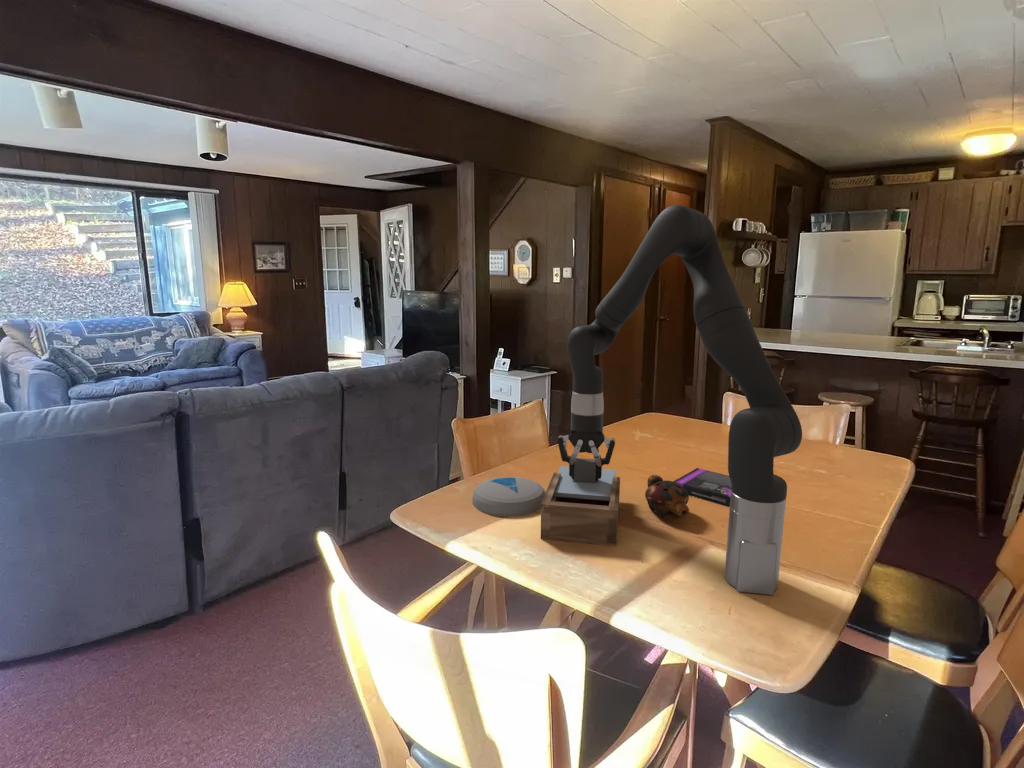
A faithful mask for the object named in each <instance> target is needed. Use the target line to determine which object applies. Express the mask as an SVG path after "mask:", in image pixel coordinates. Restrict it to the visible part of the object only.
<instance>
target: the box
mask: <svg viewBox="0 0 1024 768" xmlns="http://www.w3.org/2000/svg"><path fill="white" fill-rule="evenodd" d="M672 481H673V482H675V483H678V484H679V485H681V486H682V487H683V488H684V489H685V490H686V491H687V493H688V495H690V496H689V497H693V496H694V497H693V498H696V497H697V498H698V499H700V498H701V500H703V501H707V502H711V503H715V504H719V505H722V506H725V507H729V508H730V497H731V480H730V477H729V474H728V475H727V474H724V473H723V474H722V473H719V472H715V471H710V470H706V469H703V468H699V467H696V468H694V469H693V470H691V471H689V472H688V473H686V474H684V475H682V476H680V477H679V478H676V479H675V480H672Z"/></svg>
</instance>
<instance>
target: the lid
mask: <svg viewBox="0 0 1024 768" xmlns="http://www.w3.org/2000/svg"><path fill="white" fill-rule="evenodd" d="M557 473H561V476H560V479H559V482H558V484H557V487H556V490H555V492H554V495H553V496H555V497H568V498H580V499H593V500H606V501H610V498H611V490H612V481H613V477H617V474H616V473H617V469H608V468H607V469H606V468H602V476H601V479H598V481H595V479H596V461H595V458H583V457H576V460H575V467H574V479H572V477H570V476H569V466H565V465H560V468H559V470H558V472H557Z"/></svg>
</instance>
